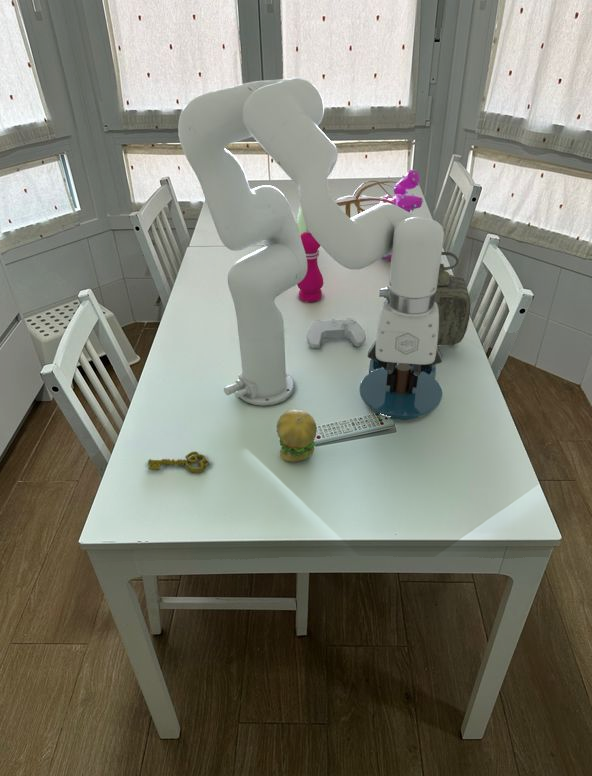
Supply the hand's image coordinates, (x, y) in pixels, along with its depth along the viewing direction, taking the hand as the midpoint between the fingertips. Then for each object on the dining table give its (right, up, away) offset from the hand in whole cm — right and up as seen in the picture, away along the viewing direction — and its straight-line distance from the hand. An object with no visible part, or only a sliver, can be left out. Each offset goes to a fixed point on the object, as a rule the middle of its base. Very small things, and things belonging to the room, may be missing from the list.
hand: (401, 388), depth 113 cm
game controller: (-10, +14, +43) cm, 46 cm away
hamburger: (-19, -13, +10) cm, 25 cm away
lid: (0, -1, +1) cm, 1 cm away
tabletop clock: (+13, +11, +38) cm, 42 cm away
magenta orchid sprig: (-2, +49, +84) cm, 98 cm away
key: (-42, -14, +9) cm, 45 cm away
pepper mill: (-16, +29, +60) cm, 69 cm away
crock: (+3, -2, +23) cm, 23 cm away
